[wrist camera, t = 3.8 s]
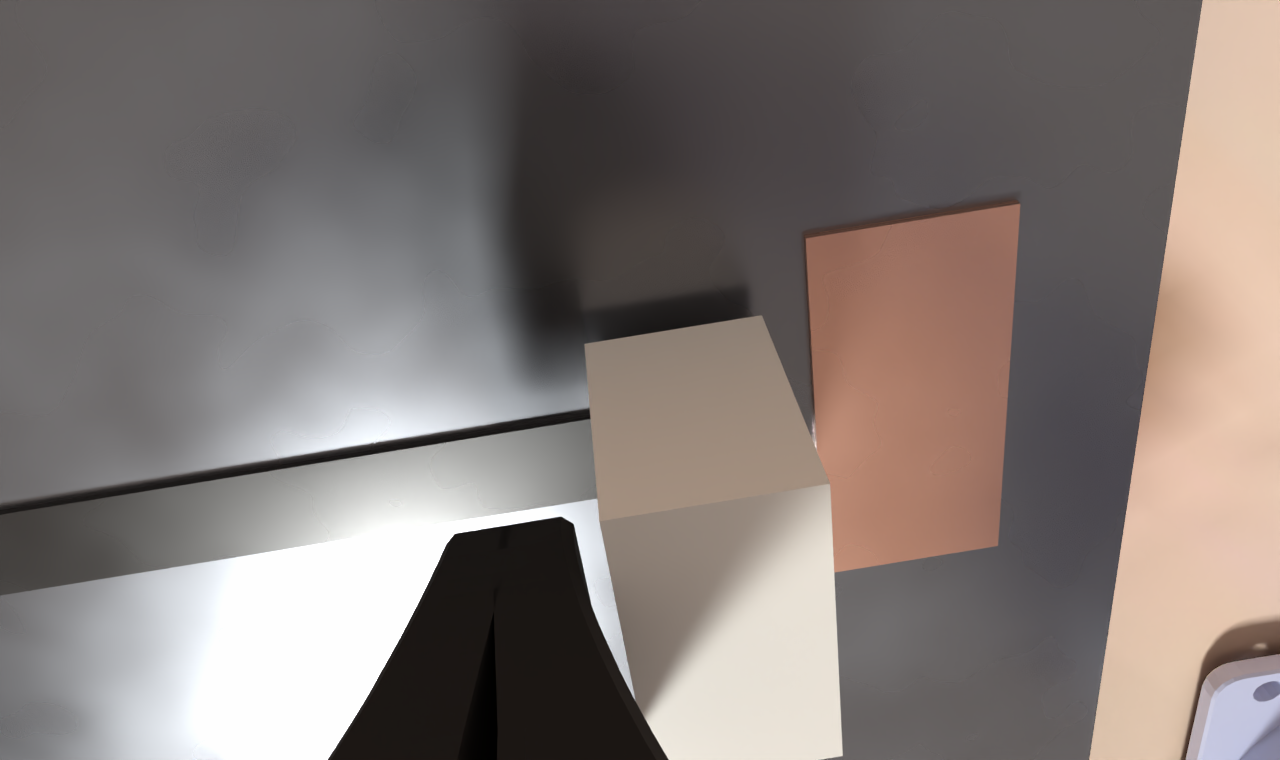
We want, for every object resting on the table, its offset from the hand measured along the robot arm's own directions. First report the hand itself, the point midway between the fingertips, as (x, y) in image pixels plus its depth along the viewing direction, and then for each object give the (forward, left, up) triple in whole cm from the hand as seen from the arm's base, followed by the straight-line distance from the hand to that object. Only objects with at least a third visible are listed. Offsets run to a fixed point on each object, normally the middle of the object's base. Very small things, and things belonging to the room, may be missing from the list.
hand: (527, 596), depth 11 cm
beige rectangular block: (-2, 0, -2) cm, 3 cm away
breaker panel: (+2, +5, -4) cm, 7 cm away
